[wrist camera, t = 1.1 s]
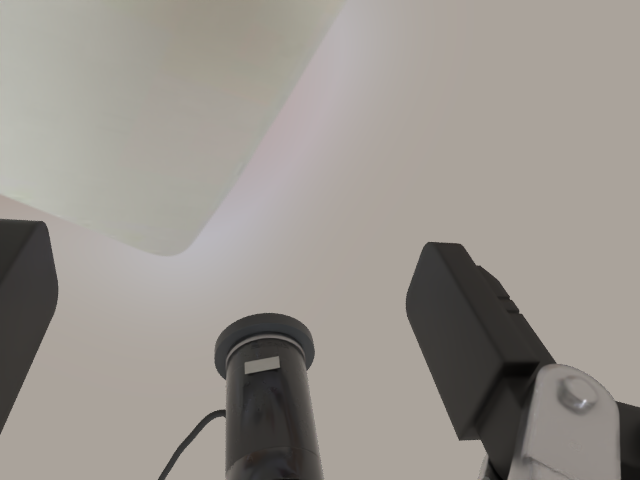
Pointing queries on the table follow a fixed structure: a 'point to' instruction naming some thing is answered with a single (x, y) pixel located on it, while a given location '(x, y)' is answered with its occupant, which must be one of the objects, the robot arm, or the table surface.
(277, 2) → the table surface
